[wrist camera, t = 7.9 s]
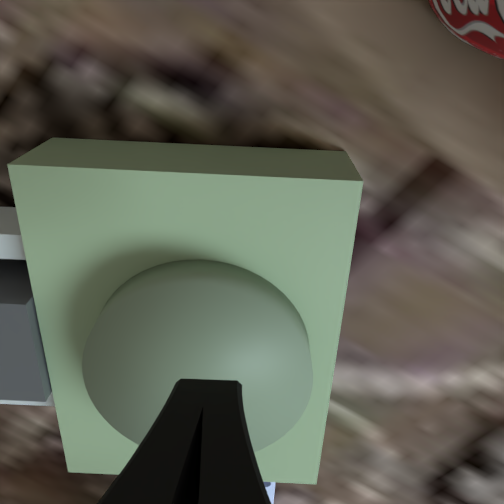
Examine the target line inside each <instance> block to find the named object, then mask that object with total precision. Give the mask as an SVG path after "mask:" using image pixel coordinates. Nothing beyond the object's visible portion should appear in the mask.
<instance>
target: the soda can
mask: <svg viewBox="0 0 504 504" xmlns="http://www.w3.org/2000/svg"><path fill="white" fill-rule="evenodd" d="M428 1H429V3H430V6H431V8H432V9H433V11H434V12H435V14H436V16H437V17H438V19H439V20H440V22H441V23H442V24H443V25H444V26H445V27H446V28H447V29H448V30H449V31H450V32H451V33H452V34H453V35H455V36H456V37H458V38H459V39H460V40H462V41H463V42H465V43H467V44H469V45H471V46H473V47H475V48H477V49H479V50H481V51H484V52H486V53H488V54H490V55H492V56H494V57H496V58H500V59H504V0H428Z"/></svg>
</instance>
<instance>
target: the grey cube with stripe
mask: <svg viewBox="0 0 504 504" xmlns="http://www.w3.org/2000/svg"><path fill="white" fill-rule="evenodd" d="M51 392H52V388H51V383H50V378H49V372H48V367H47V362H46V357H45V352H44V347H43V342H42V337H41V332H40V327H39V322H38V317H37V312H36V307H35V302H34V297H33V292H32V287H31V282H30V277H29V272H28V267H27V261H26V260H17V259H0V400H14V401H35V402H46V401H47V399H48V397H49V396H50V394H51Z"/></svg>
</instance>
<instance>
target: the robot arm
mask: <svg viewBox="0 0 504 504" xmlns="http://www.w3.org/2000/svg"><path fill="white" fill-rule="evenodd" d="M274 491H275V482H263V479H262V476H261V474H260V470H259V467H258V464H257V460H256V457H255V454H254V451H253V447H252V444H251V440H250V436H249V432H248V427H247V423H246V418H245V413H244V407H243V398H242V384H241V383H239V382H238V381H237V380H210V379H182V378H181V379H180V380H178V381H177V382H176V383H175V385H174V387H173V390H172V392H171V393H170V395H169V397H168V399H167V401H166V403H165V405H164V406H163V408H162V410H161V412H160V413H159V415H158V417H157V418H156V420H155V422H154V423H153V425H152V426H151V428H150V430H149V431H148V433H147V434H146V436H145V437H144V439H143V440H142V442H141V443H140V445H139V446H138V448H137V449H136V451H135V452H134V454H133V455H132V457H131V458H130V460H129V461H128V463H127V464H126V466H125V467H124V468H123V470H122V471H121V472H120V474H119V475H118V476H117V478H116V479H115V480H114V482H113V483H112V485H111V486H110V487H109V489H108V490H107V491H106V493H105V494H104V495H103V497H102V498H101V499H100V501H99V502H98V503H97V504H273V502H274Z"/></svg>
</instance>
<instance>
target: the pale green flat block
mask: <svg viewBox="0 0 504 504" xmlns="http://www.w3.org/2000/svg"><path fill="white" fill-rule="evenodd" d="M7 166H8V171H9V176H10V181H11V186H12V191H13V196H14V201H15V206H16V207H0V259H17V260H26V261H27V267H28V272H29V277H30V282H31V287H32V292H33V297H34V302H35V307H36V312H37V317H38V322H39V327H40V332H41V337H42V342H43V347H44V352H45V357H46V362H47V367H48V372H49V378H50V383H51V388H52V392H51V394H50V396H49V397H48V399H47V401H46V402H35V401H14V400H0V404H17V405H38V406H55V408H56V413H57V418H58V423H59V428H60V433H61V438H62V443H63V448H64V453H65V458H66V463H67V468H68V472H73V473H94V474H114V475H119V474H120V472H121V471H122V470H123V468H124V467H125V466H126V464H127V463H128V461H129V460H130V458H131V457H132V455H133V454H134V452H135V451H136V449H137V448H138V446H139V445H140V443H141V442H142V440H143V439H144V437H145V436H146V434H147V433H148V431H149V430H150V428H151V426H152V425H153V423H154V422H155V420H156V418H157V417H158V415H159V413H160V412H161V410H162V408H163V406H164V405H165V403H166V401H167V399H168V397H169V395H170V393H171V392H172V390H173V387H174V385H175V383H176V382H177V381H178V380H180V379H181V378H182V379H210V380H237V381H238V382H239V383H241V384H242V398H243V407H244V413H245V418H246V423H247V427H248V432H249V436H250V440H251V444H252V447H253V451H254V454H255V457H256V460H257V464H258V467H259V470H260V474H261V476H262V479H263V482H281V483H302V484H316V483H317V477H318V470H319V464H320V457H321V451H322V444H323V438H324V432H325V425H326V419H327V412H328V406H329V399H330V393H331V386H332V380H333V374H334V367H335V361H336V354H337V348H338V341H339V335H340V328H341V322H342V316H343V309H344V303H345V296H346V290H347V283H348V277H349V271H350V264H351V258H352V251H353V245H354V238H355V232H356V225H357V219H358V213H359V206H360V200H361V193H362V187H363V180H362V178H361V176H360V175H359V173H358V171H357V170H356V168H355V166H354V164H353V163H352V161H351V159H350V158H349V156H348V154H347V153H346V151H327V150H306V149H285V148H264V147H242V146H221V145H200V144H179V143H158V142H137V141H116V140H94V139H73V138H51V139H49V140H47V141H46V142H44V143H42V144H41V145H39V146H37V147H36V148H34V149H32V150H31V151H29V152H27V153H26V154H24V155H22V156H21V157H19V158H17V159H15V160H14V161H12V162H10V163H9V164H7Z"/></svg>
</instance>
